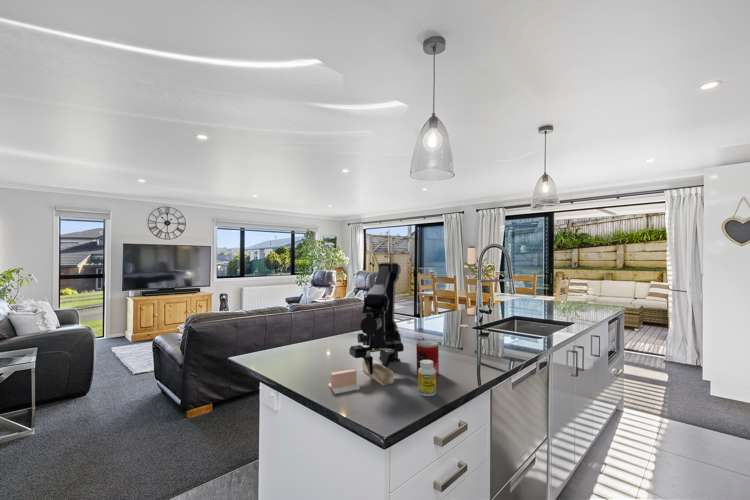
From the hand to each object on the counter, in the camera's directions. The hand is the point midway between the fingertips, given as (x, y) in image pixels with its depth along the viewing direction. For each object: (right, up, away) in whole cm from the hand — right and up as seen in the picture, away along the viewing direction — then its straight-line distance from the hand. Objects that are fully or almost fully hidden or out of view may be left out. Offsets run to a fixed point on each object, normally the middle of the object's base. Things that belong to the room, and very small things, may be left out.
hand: (377, 373), depth 117 cm
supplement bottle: (+15, -1, -15) cm, 21 cm away
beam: (0, -1, 0) cm, 1 cm away
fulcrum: (-11, -1, -10) cm, 15 cm away
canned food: (+18, -1, +2) cm, 18 cm away
